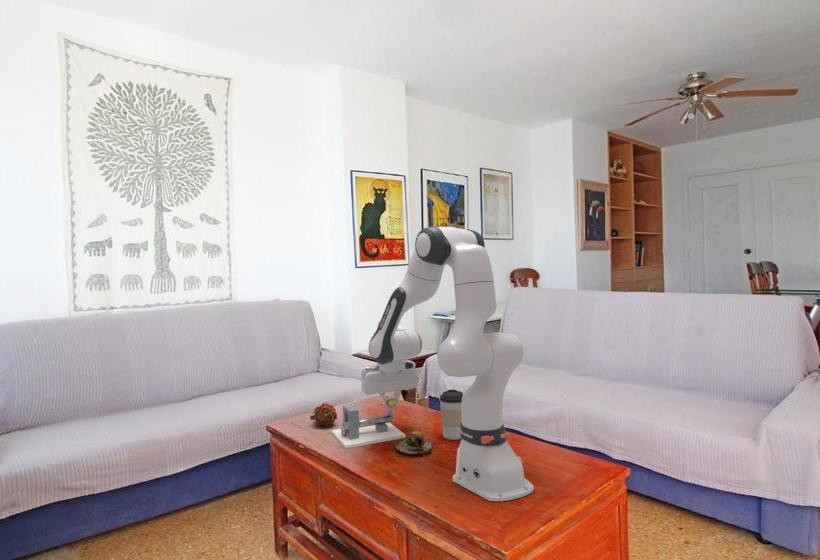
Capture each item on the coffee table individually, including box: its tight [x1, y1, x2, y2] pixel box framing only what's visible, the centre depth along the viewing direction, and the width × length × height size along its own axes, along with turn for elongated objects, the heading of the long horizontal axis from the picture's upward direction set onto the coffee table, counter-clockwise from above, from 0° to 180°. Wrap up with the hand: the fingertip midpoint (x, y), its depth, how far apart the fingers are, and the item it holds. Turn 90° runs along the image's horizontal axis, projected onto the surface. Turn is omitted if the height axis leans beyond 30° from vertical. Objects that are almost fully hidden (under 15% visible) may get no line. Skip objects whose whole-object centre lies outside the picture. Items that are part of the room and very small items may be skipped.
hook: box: [340, 395, 398, 436], centre depth 168 cm, size 19×6×10 cm, turn 115°
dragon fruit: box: [309, 402, 338, 427], centre depth 180 cm, size 8×8×12 cm
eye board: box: [331, 403, 407, 450], centre depth 168 cm, size 21×16×10 cm
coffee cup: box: [438, 389, 464, 440], centre depth 166 cm, size 9×9×15 cm
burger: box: [394, 425, 434, 457], centre depth 154 cm, size 12×12×8 cm
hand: (390, 403), depth 171 cm, fingers closed on hook, 2 cm apart
